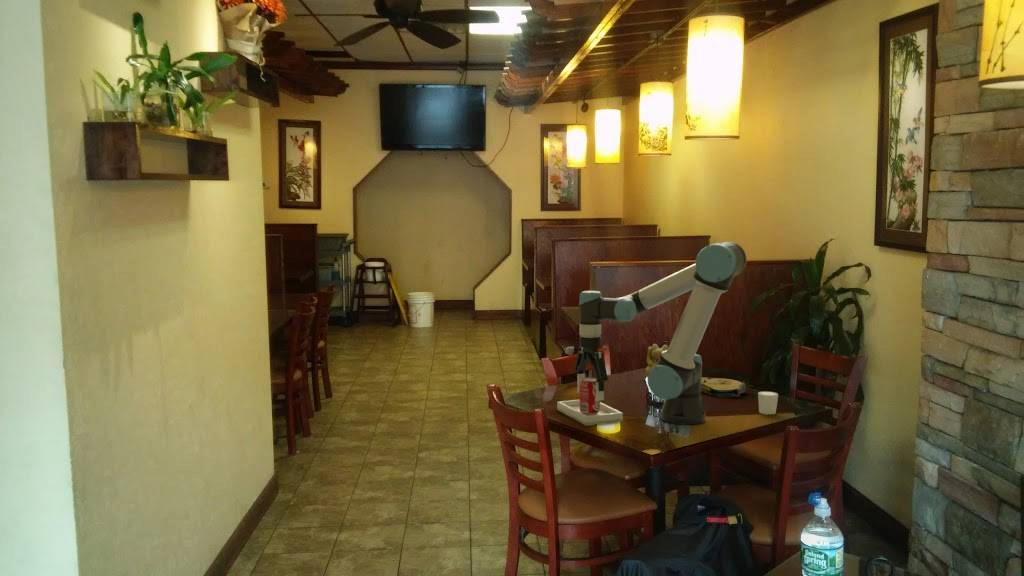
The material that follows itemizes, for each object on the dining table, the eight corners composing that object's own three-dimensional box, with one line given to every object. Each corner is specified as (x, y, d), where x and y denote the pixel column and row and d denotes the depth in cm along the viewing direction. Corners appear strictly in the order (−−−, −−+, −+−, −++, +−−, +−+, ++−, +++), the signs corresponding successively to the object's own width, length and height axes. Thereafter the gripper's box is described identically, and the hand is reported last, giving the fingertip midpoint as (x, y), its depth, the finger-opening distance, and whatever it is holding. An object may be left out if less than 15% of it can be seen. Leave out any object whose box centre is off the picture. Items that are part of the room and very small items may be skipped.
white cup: (780, 414, 293) (781, 395, 292) (761, 415, 292) (762, 395, 291) (773, 409, 299) (773, 390, 299) (754, 410, 299) (755, 391, 298)
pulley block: (682, 367, 341) (753, 377, 323) (683, 381, 343) (754, 391, 325) (667, 378, 330) (740, 390, 313) (667, 392, 332) (740, 404, 314)
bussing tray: (622, 421, 283) (622, 412, 283) (586, 425, 278) (586, 416, 277) (591, 406, 303) (591, 398, 303) (557, 409, 298) (557, 401, 297)
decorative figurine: (669, 378, 350) (669, 343, 348) (668, 382, 342) (669, 346, 340) (645, 377, 352) (646, 342, 350) (645, 381, 344) (645, 345, 342)
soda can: (600, 410, 293) (600, 377, 291) (599, 416, 286) (599, 382, 285) (580, 409, 294) (580, 376, 293) (578, 415, 287) (579, 381, 286)
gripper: (618, 340, 277) (617, 402, 279) (583, 330, 300) (583, 387, 302) (598, 341, 274) (598, 404, 277) (564, 331, 297) (564, 389, 299)
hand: (590, 396), depth 289 cm, fingers open, 13 cm apart
